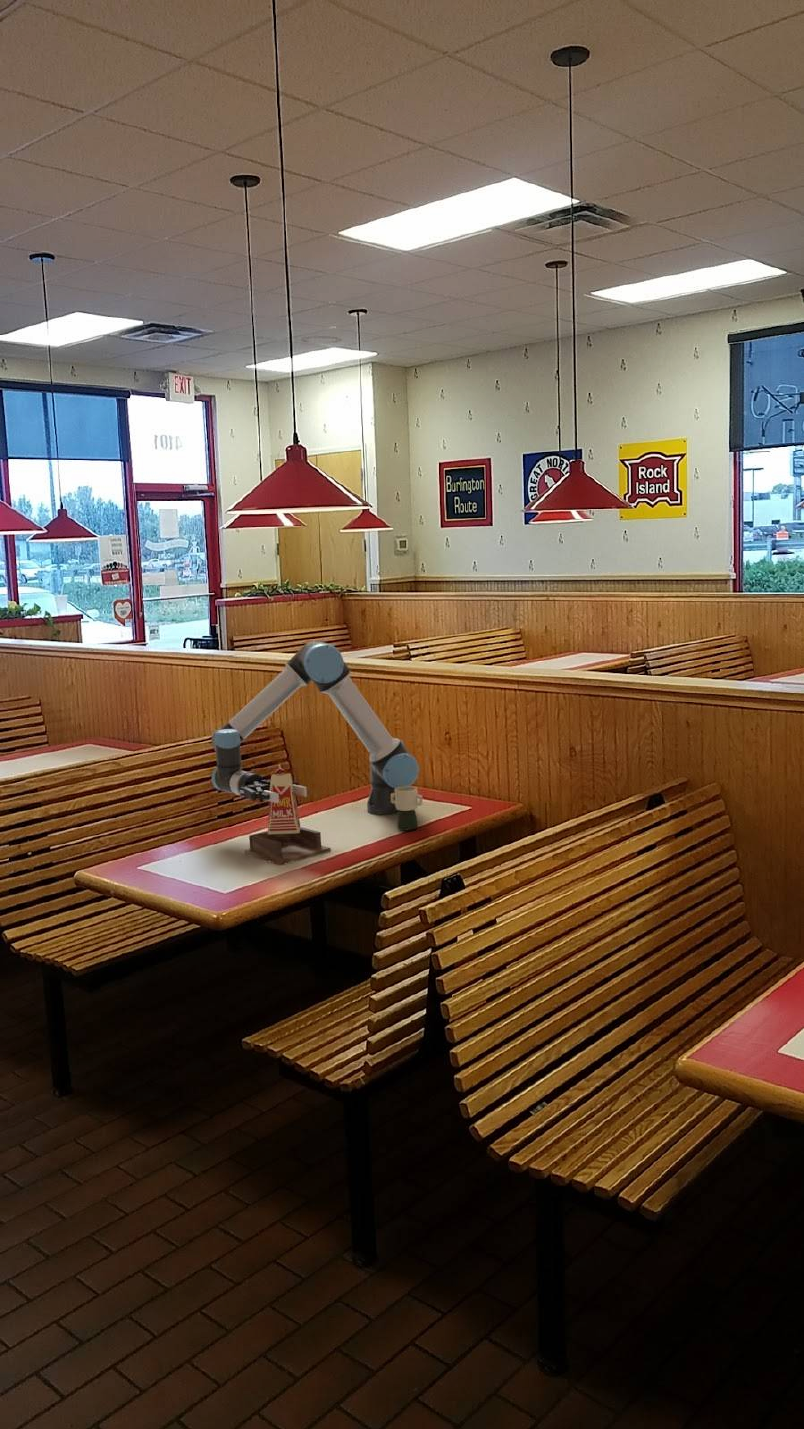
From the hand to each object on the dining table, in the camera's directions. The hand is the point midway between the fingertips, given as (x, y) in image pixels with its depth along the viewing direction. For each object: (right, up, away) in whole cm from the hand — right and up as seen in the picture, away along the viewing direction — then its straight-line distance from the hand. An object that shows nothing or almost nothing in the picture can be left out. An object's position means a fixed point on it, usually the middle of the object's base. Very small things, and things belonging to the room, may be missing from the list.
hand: (291, 795), depth 317 cm
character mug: (+34, -13, +25) cm, 44 cm away
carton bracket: (-2, -17, +6) cm, 18 cm away
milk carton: (-3, -11, +5) cm, 12 cm away
